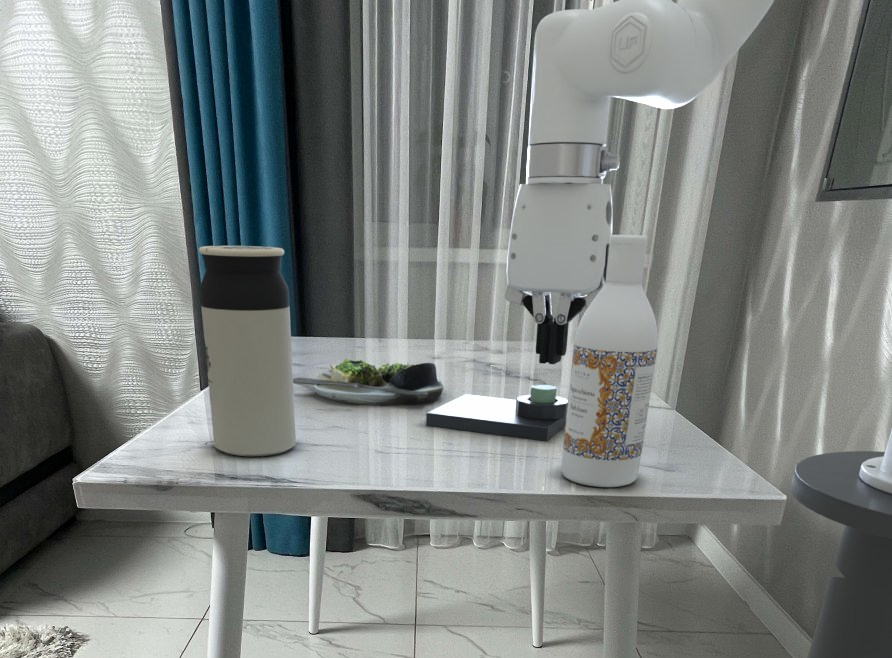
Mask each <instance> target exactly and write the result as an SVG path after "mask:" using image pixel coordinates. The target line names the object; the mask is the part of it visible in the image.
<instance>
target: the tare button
mask: <svg viewBox="0 0 892 658" xmlns="http://www.w3.org/2000/svg"><path fill="white" fill-rule="evenodd" d="M529 395H530V401H532V402H538V403H554V402H555V400H556V396H557V386H554V385H550V384H533V385H531V387H530V394H529Z"/></svg>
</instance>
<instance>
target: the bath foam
mask: <svg viewBox="0 0 892 658" xmlns="http://www.w3.org/2000/svg"><path fill="white" fill-rule="evenodd" d="M648 238H649V237H648V236H647V235H640V234H639V235H637V234H636V235H635V234H612V236H611V239H610V247H609V256H608V264H607V273H606V282H605V285H604V286H603V287H602V289H601V290H600V291H599V293H598V294H597V295H596V297H595V298H594V300H593V301H592V302H591V304H590V305H589V307H588V308H586V309H585V312H584V313H583V315H582V317H581V319H580V321H579V323H578V326H577V329H576V333H575V338H574V343H573V348H572V349H573V350H572V360H571V369H570V379H569V389H568V398H567V400H568V406H567V415H566V425H565V427H564V435H563V445H562V455H561V456H562V457H561V465H560V466H561V467H560V468H561V469H560V471H561V474H562V475H563V477H564V478H566V479H567V480H569V481H571V482H573V483H576V484H579V485H584V486H589V487H596V488H616V487H617V488H618V487H623V486H627V485H630V484H632V483H634V482H635V481H636V480H637V478H638V475H639V472H640V471H639V470H640V464H641V457H642V454H643V447H644V446H643V445H644V440H645V439H644V438H645V432H646V426H647V421H648V420H647V419H648V414H649V413H648V412H649V406H650V400H651V392H652V387H653V386H652V385H653V382H654V381H653V380H654V374H655V373H654V372H655V366H656V361H657V353H658V345H659V344H658V343H659V342H658V341H659V340H658V339H659V336H658V335H659V334H658V326H657V320H656V316H655V313H654V311H653V308H652V305H651V303H650V301H649V299H648V297H647V295H646V292H645V290H644V287H643V285H642V282H643V274H644V268H645V262H646V254H647V247H648V241H649V239H648Z"/></svg>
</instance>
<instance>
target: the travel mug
mask: <svg viewBox="0 0 892 658" xmlns="http://www.w3.org/2000/svg"><path fill="white" fill-rule="evenodd" d="M198 252H199V253H200V254H201V257H202V259H203V263H204V268H205V273H204V275H203V278H202V280H201V283H200V285H199V298H200V308H201V316H202V318H201V319H202V328H203V339H204V351H205V362H206V372H207V383H208V393H209V404H210V415H211V424H212V425H211V426H212V435H213V445H214V448H216V449H217V450H219V451H220V452H223V453H225V454H227V455H232V456H238V457H266V456H275V455H279V454H283V453H286V452H287V451H288V450H290V449H292V448H294V447H295V446H296V444H297V437H296V416H295V394H294V393H295V392H294V383H293V378H294V374H293V372H294V371H293V349H292V331H291V330H292V329H291V327H292V326H291V307H290V288H289V286H288V284H287V282H286V281H285V278H284V277H283V274H282V273H281V269H282V268H281V267H282V258H283V256H284V255H285V250H284V249H283V248H282V247H273V246H257V245H256V246H255V245H254V246H253V245H205V246H200V247H199V248H198Z"/></svg>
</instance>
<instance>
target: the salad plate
mask: <svg viewBox="0 0 892 658" xmlns="http://www.w3.org/2000/svg"><path fill="white" fill-rule="evenodd" d="M329 367H330V369H329V370H328V369H327V370H324V371H320V372H319V373H317V375H316V376H315V378H309V377H293V385H297V386H301V387H305V388H307V389H309V390H311V391H312V392H314V393H315V394H317V395H318V396H319V397H321V398H326V399H328V400H332V401H336V402H342V403H347V404H352V405H380V406H381V405H382V406H383V405H385V406H421V405H428V404H431V403H435V402H437V401H438V400H439V399H440V398H441V395H442V393H443V391H444V385H443V383H442V381H441V378H440V377H439V376H438V374H437V366H436V364H435V363H432V362H424V363H423V362H422V363H417V364H409V363H407V364H403V363H399V362H393V363H392V364H389V363H388V362H387V363H386V364H382V365H381V366H379V367H376V365H372V364H369V363H367V362H366V361H364V360H362V359H360V360H352V359H349V358H345V359H344V360H342V361H341V362H340V364H335V365H332V364H331V363H330V365H329Z"/></svg>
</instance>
